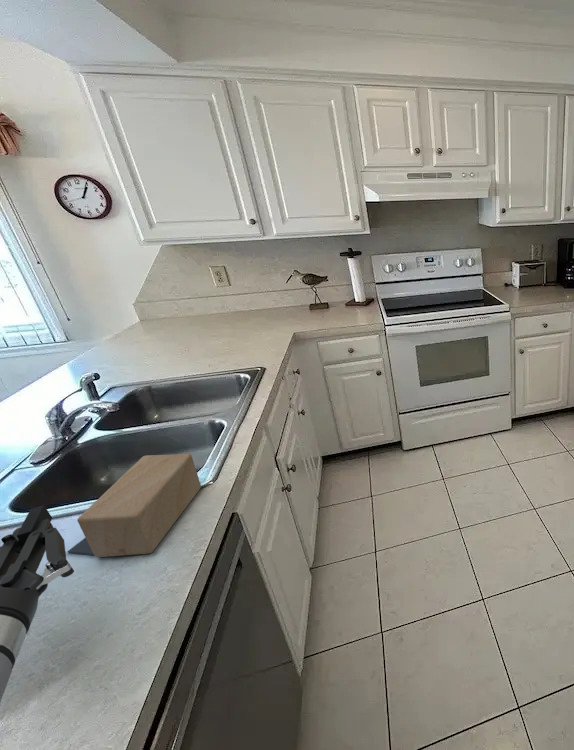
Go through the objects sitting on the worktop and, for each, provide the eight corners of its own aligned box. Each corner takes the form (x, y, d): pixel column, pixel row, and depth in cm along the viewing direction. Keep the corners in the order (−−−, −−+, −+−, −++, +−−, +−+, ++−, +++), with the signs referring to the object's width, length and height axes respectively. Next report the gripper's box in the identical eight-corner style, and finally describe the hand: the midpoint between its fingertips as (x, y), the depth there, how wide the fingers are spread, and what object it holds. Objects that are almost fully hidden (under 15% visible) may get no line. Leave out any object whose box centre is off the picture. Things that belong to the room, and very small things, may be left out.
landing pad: (68, 553, 82) (67, 551, 82) (107, 523, 89) (106, 521, 89) (108, 556, 81) (106, 555, 81) (144, 526, 88) (143, 524, 88)
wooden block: (151, 554, 81) (202, 487, 99) (136, 515, 77) (191, 452, 95) (94, 558, 80) (156, 489, 97) (74, 519, 75) (143, 454, 93)
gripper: (-87, 692, 45) (-5, 549, 63) (71, 627, 52) (105, 514, 70) (-134, 651, 42) (-33, 512, 60) (41, 586, 48) (85, 479, 66)
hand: (41, 513), depth 65 cm, fingers closed
